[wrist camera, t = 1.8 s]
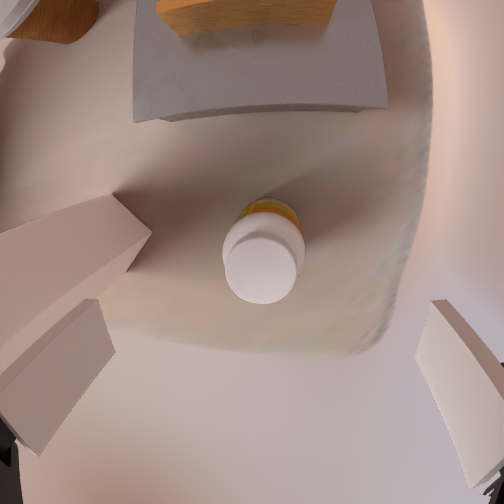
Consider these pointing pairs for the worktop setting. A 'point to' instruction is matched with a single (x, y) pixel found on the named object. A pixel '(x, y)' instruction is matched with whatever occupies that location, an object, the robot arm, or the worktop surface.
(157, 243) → the worktop surface
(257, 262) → the supplement bottle
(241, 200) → the worktop surface
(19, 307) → the milk
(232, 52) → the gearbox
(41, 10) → the disposable coffee cup
